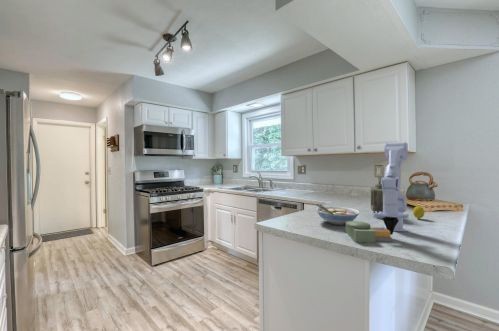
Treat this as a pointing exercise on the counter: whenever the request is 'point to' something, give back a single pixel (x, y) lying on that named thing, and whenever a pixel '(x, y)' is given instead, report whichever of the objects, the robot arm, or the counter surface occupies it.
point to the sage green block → (363, 232)
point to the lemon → (418, 212)
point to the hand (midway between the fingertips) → (389, 233)
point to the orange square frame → (381, 232)
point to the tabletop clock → (377, 198)
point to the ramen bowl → (337, 214)
